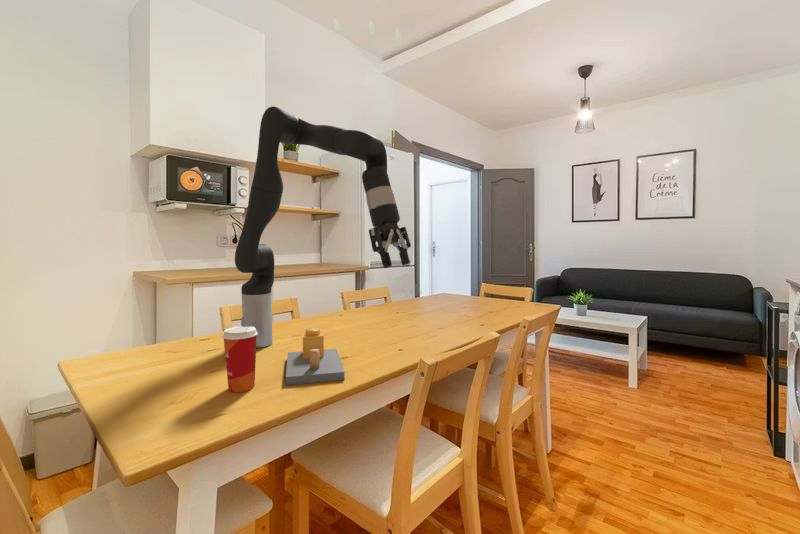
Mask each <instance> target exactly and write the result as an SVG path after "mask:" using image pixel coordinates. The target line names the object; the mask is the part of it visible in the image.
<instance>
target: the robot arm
mask: <svg viewBox="0 0 800 534" xmlns="http://www.w3.org/2000/svg"><path fill="white" fill-rule="evenodd" d="M259 126H260V127H259V136H258V146H257V157H256V162H255V168H254V174H253V178H252V183H251V186H250V192H249V195H248V196H249V197H248V204H247V208H246V212H245V213H246V214H245V218H244V222H243V226H242V230H241V232H240V234H239V235H240V236H239V239H238V242H237V246H236V249H235V254H234V264H235V267H236V269H237V271H239V272H241V273H243V274H251V277H250V279H249V280H247V281H246V282H244V283H243V284H242V285H241V286H240V287H241V319H240V326H242V327H243V326H249V327H250V326H252V327H255V328H256V331H257V332H258V334H257V335H256V349H259V348H266V347H269V346H271V345H273V340H274V339H273V337H274V336H273V302H272V301H273V300H272V299H273V296H272V294H273V293H272V288H273V285H274V281H275V257H274V256H275V254H274V252H273V250H272V247H270V246H269V245H267V244H265V243H260V242H261V238H262V235H263V233H264V230H265V229H266V227H267V226H268V225H269V224H270V222H271V221H272V220H273V218H274V217H275V215H276V214H277V212H278V211H279V209H280V206H281V202H282V196H283V192H284V182H283V178H282V177H283V176H282V175H281V174H282V173H281V171H280V166H279V162H278V157H279V155H278V154H279V147H280V143H282V144H285V145H302V146H303V145H304V146H310V147H313V148H317V149H320V150H322V151H325V152H329V153H332V154H336V155H340V156H347V157H351V158H354V159H356V160H360V161H362V162H364V163H365V167H366V169H365V170H364V171H363V172H362V174H361V180H362V185H363V188H364V193H365V198H366V200H365V201H366V205H367V208H368V212H369V216H370V221H371V225H372V227H373V228H369V229H368V233H369V235H368V236H369V239H370V243H371V248H372V252H374V253H378V255H379V256H380V259H381V264H382V266H383V268H384V269H388V268H391V267H392V266H393V265H392V260H391V256H390V253H389V252H388V251H389V246H390V245H392V246H393V247H395V248H396V250H397V251H398V254H399V259H400V262H401V264H402V266H405V265H409V264H410V256H409V253H408V249H409V248H411V247H412V245H411V241H410V237H409V235H408V230H407V228H406V226H402V227H399V225H398V223H399V222H400V221H401V217H400V212H399V210H398V205H397V202H396V197H395V193H394V192H393V188H392V186H391V181H390V179H389V178H390V177H389V175H388V154H387V149H386V147H385V144H384V142H383V141H382V140H381V139H380V138H378V137H376V136H374V135H372V134H370V133H367V132H365V131H362V130H353V129H346V128H343V127H337V126H333V125H329V124H315V123H310V122H308V121H306V120H304V119H302V118H300V117H298V116H296V115H295V114H293V113H291V112H289V111H287V110H284V109H282V108H280V107H277V106H270V107H268V108H266V110H264V113H263V115H262V117H261V121H260V125H259Z"/></svg>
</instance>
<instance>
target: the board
mask: <svg viewBox="0 0 800 534" xmlns="http://www.w3.org/2000/svg"><path fill="white" fill-rule="evenodd" d="M286 359H287V361H286V371H285V372H286V373H285V386H291V385H292V386H293V385H301V384H302V385H303V384H314V383H324V382H325V383H326V382H335V381H343V380H345V379H346V378H345V370H344V367H343V363H342V360H341V357H340V355H339V352H338V349H337V348H330V349H329V348H328V349H324V357H319V349H312V350H310V358H303V350H302V351H291V352H290V351H288V352H287V358H286Z"/></svg>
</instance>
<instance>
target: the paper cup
mask: <svg viewBox="0 0 800 534" xmlns="http://www.w3.org/2000/svg"><path fill="white" fill-rule="evenodd" d="M257 334H258V332H257V331H256V328H255V327H252V326H250V327H249V326H243V327H242V326H241V325H240V326H232V327H229V328H226V329H224V331H223V334H222V336H221V337H222V339H223V344H224V345H223V346H224V348H223V349H224V356H225V357H224V358H225V368H226V375H227V377H226V379H227V385H228V386H227V387H228V391H229V392H231V393H236V394H238V393H245V392H248V391H250V390H252V389H254V388H255V384H256V383H255V382H256V381H255V380H256V360H257V348H256V335H257Z"/></svg>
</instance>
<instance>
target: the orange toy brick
mask: <svg viewBox="0 0 800 534" xmlns="http://www.w3.org/2000/svg"><path fill="white" fill-rule="evenodd" d="M324 336H325V335H324V332H323V330H321V329H320V328H317V327H312V328H311V327H310V328H307V329H305V331H303V332H302V351H303V358H310V350H312V349H319V357H324V350H325V348H324V342H325V341H324Z"/></svg>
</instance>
